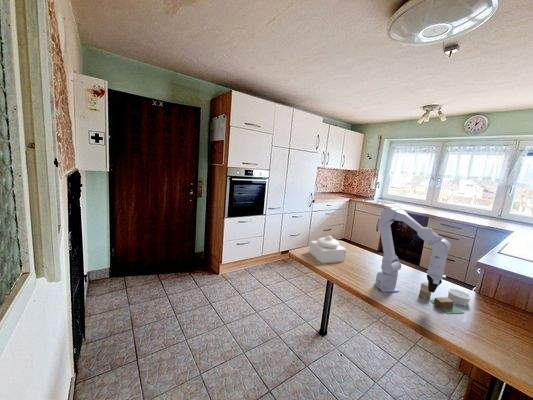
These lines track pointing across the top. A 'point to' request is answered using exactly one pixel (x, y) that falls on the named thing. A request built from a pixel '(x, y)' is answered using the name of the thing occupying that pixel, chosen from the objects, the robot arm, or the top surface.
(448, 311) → the mat
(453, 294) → the ramekin
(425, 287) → the maple block
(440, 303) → the walnut block
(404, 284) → the top surface
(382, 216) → the robot arm
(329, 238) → the white lidded box
